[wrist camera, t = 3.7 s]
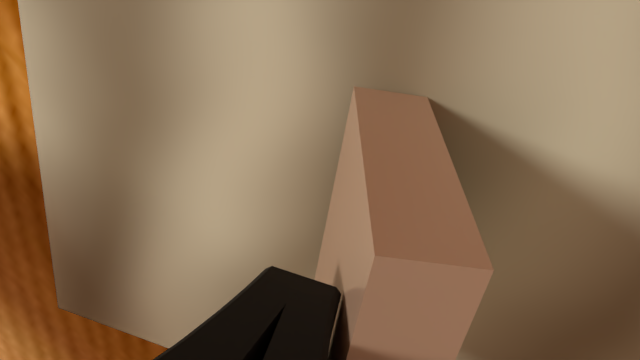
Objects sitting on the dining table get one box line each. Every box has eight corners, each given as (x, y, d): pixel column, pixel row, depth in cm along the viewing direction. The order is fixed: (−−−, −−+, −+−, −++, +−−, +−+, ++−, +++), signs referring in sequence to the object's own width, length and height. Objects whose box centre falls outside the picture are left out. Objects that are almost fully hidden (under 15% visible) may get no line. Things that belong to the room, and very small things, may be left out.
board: (76, 289, 20) (58, 307, 20) (19, -261, 12) (-18, -269, 11) (549, 459, 18) (551, 489, 17) (919, -100, 9) (959, -95, 8)
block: (311, 291, 15) (307, 500, 10) (353, 86, 12) (374, 255, 7) (375, 298, 15) (399, 508, 11) (434, 98, 12) (505, 271, 7)
